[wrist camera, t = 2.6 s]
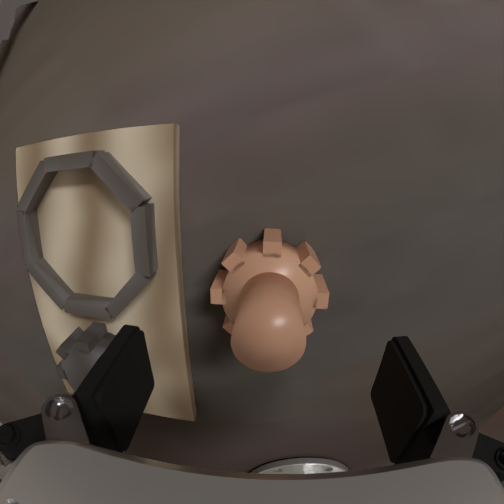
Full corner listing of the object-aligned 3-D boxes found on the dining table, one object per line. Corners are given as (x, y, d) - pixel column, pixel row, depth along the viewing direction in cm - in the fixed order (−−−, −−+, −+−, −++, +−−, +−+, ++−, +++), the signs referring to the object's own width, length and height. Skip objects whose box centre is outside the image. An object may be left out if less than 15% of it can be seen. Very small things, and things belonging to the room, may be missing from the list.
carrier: (179, 125, 18) (139, 114, 12) (196, 412, 25) (182, 463, 19) (25, 147, 18) (-30, 153, 12) (73, 385, 26) (45, 423, 20)
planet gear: (326, 231, 19) (355, 276, 12) (315, 324, 21) (331, 397, 14) (218, 226, 19) (187, 269, 12) (219, 320, 22) (198, 391, 14)
